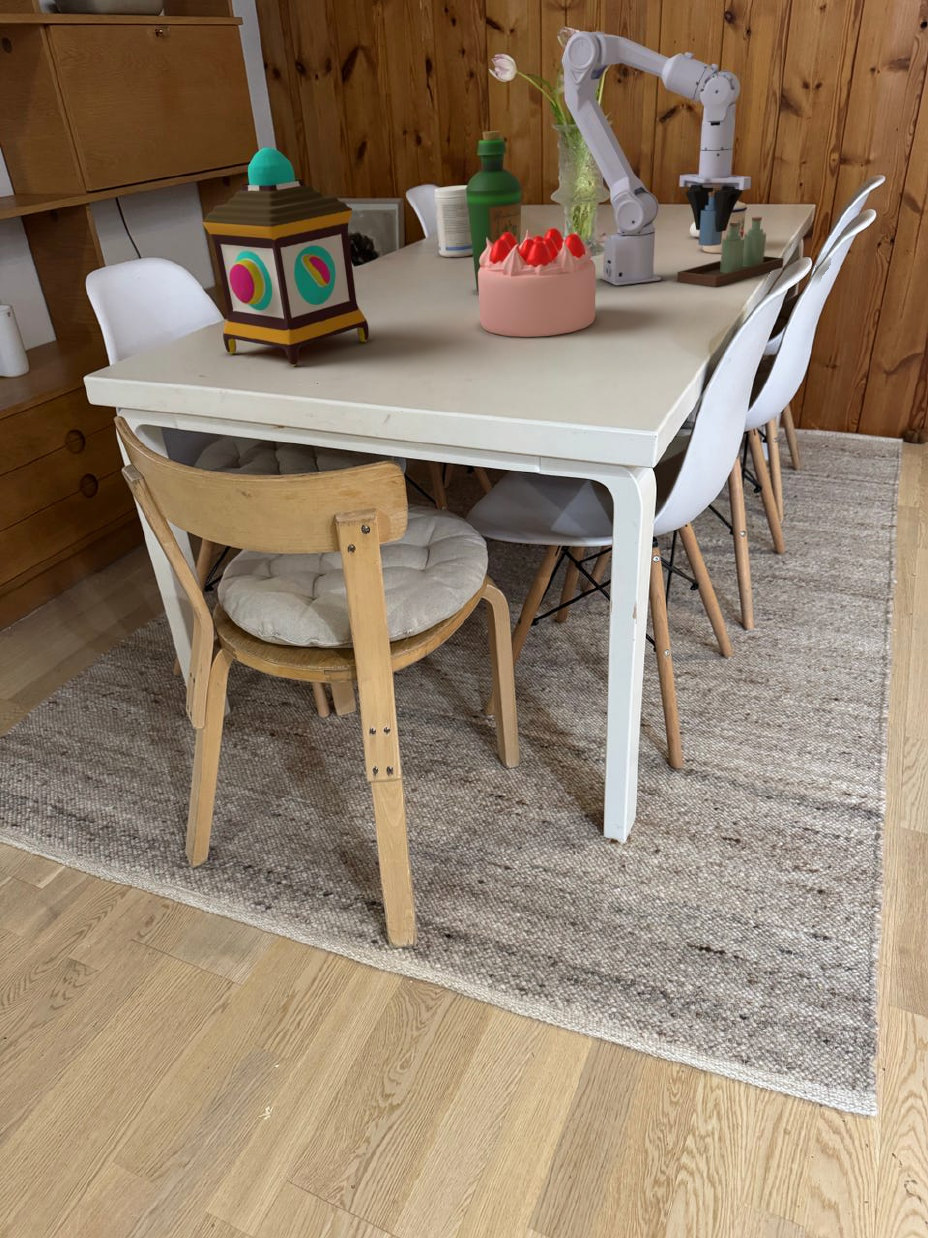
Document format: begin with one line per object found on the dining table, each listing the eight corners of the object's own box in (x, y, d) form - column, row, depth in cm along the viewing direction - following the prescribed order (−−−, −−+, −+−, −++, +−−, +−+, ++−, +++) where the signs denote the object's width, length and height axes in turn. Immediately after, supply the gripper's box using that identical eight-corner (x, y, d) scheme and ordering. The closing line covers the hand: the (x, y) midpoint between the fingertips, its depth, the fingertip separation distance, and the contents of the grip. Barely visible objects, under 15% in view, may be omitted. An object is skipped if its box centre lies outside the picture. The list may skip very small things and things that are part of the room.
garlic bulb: (684, 237, 218) (686, 201, 213) (705, 234, 220) (707, 198, 215) (700, 240, 213) (702, 203, 208) (722, 237, 215) (724, 200, 210)
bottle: (520, 296, 174) (515, 132, 160) (466, 297, 176) (456, 135, 162) (528, 284, 183) (524, 127, 168) (476, 285, 185) (468, 131, 171)
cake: (464, 320, 160) (458, 234, 153) (565, 304, 166) (565, 220, 158) (507, 344, 145) (503, 250, 137) (618, 325, 150) (620, 234, 143)
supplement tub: (486, 252, 217) (483, 185, 210) (458, 259, 212) (453, 190, 204) (459, 249, 224) (455, 184, 216) (430, 256, 218) (425, 189, 211)
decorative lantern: (303, 327, 163) (274, 141, 148) (382, 340, 152) (360, 139, 137) (214, 355, 151) (172, 154, 135) (292, 371, 139) (257, 153, 124)
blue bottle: (711, 246, 169) (715, 193, 164) (693, 244, 171) (697, 192, 167) (726, 242, 171) (730, 190, 166) (708, 241, 174) (711, 189, 169)
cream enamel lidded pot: (737, 254, 196) (742, 195, 190) (696, 253, 200) (699, 195, 194) (750, 244, 205) (756, 187, 199) (710, 243, 209) (714, 188, 202)
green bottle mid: (733, 274, 176) (737, 224, 171) (715, 271, 179) (719, 222, 174) (746, 270, 178) (750, 221, 173) (728, 268, 181) (732, 219, 176)
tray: (715, 286, 170) (716, 276, 169) (676, 281, 176) (677, 271, 175) (782, 267, 181) (783, 257, 180) (744, 262, 187) (744, 253, 186)
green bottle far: (754, 268, 180) (759, 219, 175) (737, 265, 182) (741, 217, 178) (767, 264, 182) (772, 216, 177) (749, 262, 185) (754, 214, 180)
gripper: (670, 150, 166) (666, 230, 173) (736, 151, 156) (729, 236, 163) (695, 146, 169) (690, 224, 176) (761, 147, 159) (753, 230, 166)
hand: (710, 230), depth 170 cm, fingers closed on blue bottle, 4 cm apart
